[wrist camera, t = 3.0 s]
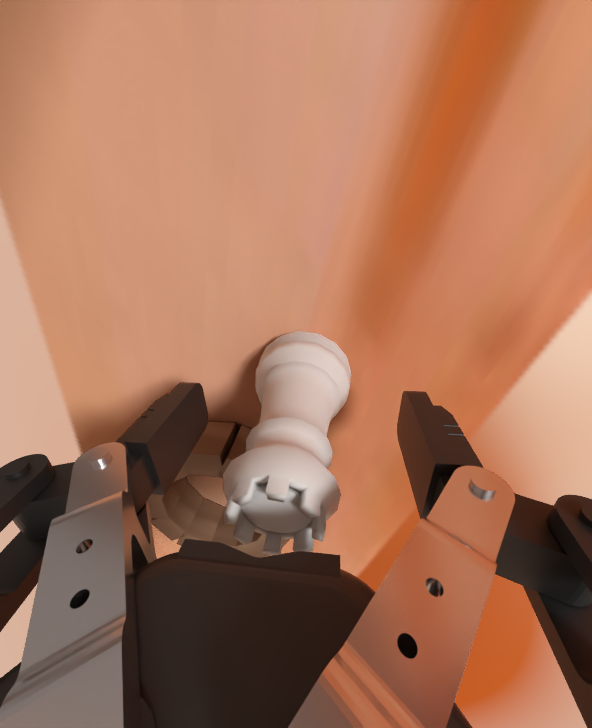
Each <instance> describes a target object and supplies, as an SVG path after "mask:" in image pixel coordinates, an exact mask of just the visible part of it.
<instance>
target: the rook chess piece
mask: <svg viewBox="0 0 592 728" xmlns="http://www.w3.org/2000/svg"><path fill="white" fill-rule="evenodd" d="M350 377H351V371H350V367H349V363H348V359H347V356H346V355H345V354H344V353H343V352H342V350H341V349H340V348H339V347H338V345H337V344H336V343H335V342H333V341H331V340H329V339H327V338H326V337H324V336H322V335H320V334H317V333H310V332H302V331H297V332H293V333H289V334H286V335H282V336H280V337H278V338H277V339H276V340H274V341H273V342H272V343H270V344H269V345H268V346H266V348H265V350H264V352H263V354H262V356H261V358H260V360H259V365H258V367H257V369H256V383H255V388H256V393H257V395H258V397H259V401H260V403H261V406H262V410H261V416H260V422H259V424H258V425H257V426H255V427H254V428H253V429H252V430H251V432H250V434H249V435H248V437H247V439H246V452H245V453H244V454H242V455H240V456H239V457H237V458H235V459H233V460H232V461H231V462H230V464H229V466H228V467H227V469H226V471H225V472H224V474H223V487H224V493H225V495H226V497H227V500H228V502H227V505H226V508H225V510H224V521H225V524H235V525H236V526H235V529H234V532H233V535H232V536H233V537H234V538H235V539H237V540H238V541H239V542H241V543H242V544H243V545H244V546H246V545H248V544H249V543H251V542H252V538H253V534H254V531H255V532H257V533H260V534H262V535H264V536H266V537H265V542H264V547H263V551H262V553H263V554H269V555H279V554H281V549H282V543H283V539H294V543H293V550H294V552H297V551H304V552H310V551H313V541H314V539H316V540H320V541H323V538H324V533H325V527H326V520H327V519H328V518H329V517H330V516H331V515H332V514H333V513H334V512H335V511H336V510H337V508H338V504H339V500H340V496H341V493H340V490H339V487H338V485H337V482H336V479H335V477H334V476H333V475H332V474H331V473H330V472H329V471H328V470H327V468H328V467H329V466H330V464H331V459H332V454H333V452H332V449H331V446H330V443H329V440H328V439H327V431H328V427H329V423H330V421H331V420H332V419H333V417H334V416H336V415H337V413H338V412H339V411H340V410H341V408H342V407H343V406H344V404H345V403H346V401H347V398H348V393H349V389H350V384H351V383H350ZM237 519H238V520H237ZM236 522H237V523H236Z"/></svg>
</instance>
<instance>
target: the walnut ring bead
mask: <svg viewBox="0 0 592 728" xmlns="http://www.w3.org/2000/svg"><path fill="white" fill-rule="evenodd" d="M251 430H252V429H250V428H248V427H246V426H244V425H242V426H241V427H240V429H239V431H238V433H237V430H236V424H235V423H230V422H211V421H208V424H207V427H206V429H205V431H204V432H203V434H202V436H201V437H200V439H199V441H198V442H197V444H196V445H195V447H194V449H193V450H192V452H191V454H190V455H189V457H188V459H187V460H186V462H185V463H184V465H183V467H182V468H181V470H180V472H179V473H178V475H177V477H176V478H175V480H174V481H173V483H172V485H171V486H170V488H169V490H168V491H167V493H166V495H156V494H151V496H150V497H149V499H148V500H147V502H148V505H149V510H150V517H151V523H152V524H153V525H154V526H155V527H156V528H157V529H159V530H160V531H161V532H162V533H163V534H164V535H166V536H167V537H168V538H169V539H170V540H175V539H178V538H179V540H178V542H177V544H179V545H181V546H182V544H183V542H184V540H185V539H193V540H202V541H212V542H221V543H223V544H226V545H228V546H230V547H233V548H235V549H237V550H239V551H242V552H244V553H246V554H249V555H251V556H253V557H258V558H260V557H265V556H269V554H263V553H262V551H263V547H264V542H265V537H266V536H264V535H262V534H260V533H257V532H255V531H254V534H253V538H252V542H251V543H249V544H248V545H246V546H244V545H243V544H242V543H241V542H239V541H238V540H237V539H235V538H234V537H233V536H232V535H233V532H234V529H235V526H236V525H235V524H225V521H224V510H225V508H226V507H223V506H221V505H219V504H216V503H214V502H212V501H210V500H207V499H205V498H203V497H202V496H201V495H200V494H199V493H198V492H197V491H196V490H195V489H194V488H193V487H192V486H191V485H190V484H189V483H188V481H187V478H186V476H189V475H201V476H214V477H222V478H223V474H224V472H225V471H226V469H227V467H228V466H229V464H230V462H231V461H232V460H233V459H235V458H237V457H239V456H240V455H242V454H244V453H245V452H246V439H247V437H248V435H249V434H250V432H251ZM237 520H238V519H237ZM236 523H237V522H236ZM289 540H290V539H283V543H282V547H283V546H284V545H285V544H286V543H287V542H288V541H289Z"/></svg>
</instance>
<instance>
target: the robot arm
mask: <svg viewBox="0 0 592 728" xmlns="http://www.w3.org/2000/svg"><path fill="white" fill-rule="evenodd" d="M207 424H208V411H207V407H206V402H205V397H204V393H203V388H202V386H201V384H200V383H184V382H182V383H179V384H178V385H177V386H176V387H175V388H174V389H173V391H172V392H171V393H170V394H166V395H165V396H163V397H161V398H160V399H158V400H156V401H155V402H154V403H153V404H152V405H151V406H150V407H149V408H148V410H147V411H145V412H144V413H143V414H142V415H141V418H138V420H137V421H136V422H135V423H134V424H133V425H132V426H131V427H130V428H129V429H128V430H127V431H126V432H125V433H124V434H123V435H122V436H121V437H120V438H119V439H118V440H117V441H116V442H109V443H104V444H101V445H98V446H95V447H93V448H91V449H89V450H88V451H86V452H85V453H83V454H82V455H81V456H80V457H79V458H78V459H77V460H76V462H73V463H67V464H62V465H56V466H52V465H51V463H50V462H49V460H48V458H47V457H46V456H45V455H42V454H33V455H28V456H24V457H22V458H19V459H16V460H14V461H12V462H10V463H8V464H6V465H4V466H3V467H1V468H0V532H1V531H2V530H3V529H4V528H5V527H6V526H7V525H8V524H9V523H10V522H11V521H12V520H13V521H14V522H15V524H16V525H17V527H18V528H19V529H20V530H21V531H20V533H19V534H18V535H17V536H16V537H15V538H14V539H13V540H12V541H11V542H10V543H9V544H8V545H7V546H6V548H4V549H3V551H2V552H1V553H0V632H1V630H2V629H3V628H4V626H5V625H6V624H7V622H8V621H9V620H10V619H11V617H12V616H13V614H14V613H15V612H16V611H17V609H18V608H19V607H20V605H21V604H22V603H23V601H24V600H25V599H26V598H27V596H28V595H29V594H30V592H31V591H32V590H33V588H34V587H35V586H36V584H37V583H38V585H37V590H36V594H35V599H34V604H33V609H32V614H31V618H30V623H29V629H28V633H27V638H26V643H25V648H24V652H23V657H22V662H20V663H19V664H18V665H17V666H15V667H14V668H13V669H12V670H10V671H9V672H8V673H6V674H5V675H4V676H3V677H1V678H0V728H472V726H471V725H470V724H469V722H468V721H467V719H466V718H465V716H464V715H463V714H462V712H461V711H460V709H459V708H458V706H457V705H456V704H455V702H454V701H455V698H456V695H457V692H458V689H459V685H460V682H461V678H462V676H463V672H464V669H465V666H466V663H467V660H468V657H469V654H470V651H471V647H472V644H473V641H474V638H475V635H476V631H477V628H478V625H479V622H480V619H481V616H482V613H483V609H484V606H485V603H486V600H487V597H488V594H489V590H490V587H491V584H492V581H493V578H494V575H495V574H497V575H499V576H501V577H504V578H506V579H508V580H511V581H513V582H516V583H518V584H521V585H523V587H524V589H525V591H526V594H527V596H528V598H529V600H530V602H531V604H532V607H533V609H534V611H535V613H536V616H537V618H538V620H539V622H540V624H541V627H542V629H543V631H544V633H545V635H546V637H547V640H548V642H549V644H550V646H551V648H552V651H553V653H554V655H555V657H556V660H557V662H558V664H559V666H560V668H561V670H562V673H563V675H564V677H565V679H566V682H567V684H568V686H569V688H570V690H571V692H572V695H573V697H574V699H575V701H576V704H577V706H578V708H579V710H580V712H581V715H582V717H583V719H584V721H585V723H586V726H587V728H592V499H589V498H586V497H582V496H577V495H564V496H561V497H560V498H558V500H557V501H556V503H555V504H554V506H553V505H549V504H546V503H543V502H539V501H536V500H533V499H530V498H526V497H523V496H520V495H518V494H515V493H514V492H513V490H512V489H511V487H510V486H509V485H508V484H507V482H506V481H504V480H503V479H502V478H501V477H500V476H498V475H497V474H495V473H493V472H491V471H489V470H487V469H484V468H483V466H482V464H481V463H480V461H479V459H478V458H477V456H476V454H475V452H474V451H473V449H472V448H471V446H470V444H469V442H468V441H467V439H466V437H465V436H464V434H463V432H462V431H461V429H460V427H458V424H457V422H456V420H455V419H454V417H453V415H452V414H450V413H449V412H448V411H447V410H446V409H444V408H443V407H442V406H433V404H432V402H431V400H430V399H429V397H428V395H427V393H426V392H417V391H404V392H403V395H402V400H401V406H400V412H399V418H398V424H397V435H398V441H399V445H400V448H401V452H402V455H403V459H404V462H405V466H406V469H407V473H408V476H409V480H410V484H411V487H412V491H413V494H414V498H415V501H416V505H417V508H418V512H419V515H420V519H421V520H420V521H419V522H418V524H417V526H416V527H415V529H414V531H413V532H412V534H411V535H410V537H409V539H408V540H407V542H406V544H405V545H404V547H403V549H402V550H401V552H400V554H399V555H398V557H397V558H396V560H395V562H394V563H393V565H392V567H391V568H390V570H389V572H388V573H387V575H386V577H385V578H384V580H383V581H382V583H381V585H380V586H379V588H378V590H377V591H376V592H374V591H373V590H372V589H371V588H370V587H369V586H368V585H367V584H365V583H364V582H363V581H361V580H360V579H359V578H357V577H355V576H354V575H352V574H350V573H348V572H346V571H344V570H341V569H340V555H332V554H323V553H313V552H304V551H297V552H291V553H285V554H279V555H273V556H267V557H261V558H258V557H253V556H251V555H249V554H246V553H244V552H242V551H239V550H237V549H235V548H233V547H230V546H228V545H226V544H223V543H221V542H212V541H202V540H193V539H185V540H184V542H183V544H182V546H181V548H180V550H179V552H177V553H173V554H169V555H166V556H164V557H161V558H159V559H157V558H156V554H155V548H154V540H153V533H152V525H151V517H150V510H149V505H148V502H147V500H148V499H149V497H150V496H151V494H156V495H166V493H167V491H168V490H169V488H170V486H171V485H172V483H173V481H174V480H175V478H176V477H177V475H178V473H179V472H180V470H181V468H182V467H183V465H184V463H185V462H186V460H187V459H188V457H189V455H190V454H191V452H192V450H193V449H194V447H195V445H196V444H197V442H198V441H199V439H200V437H201V436H202V434H203V432H204V431H205V429H206V427H207Z"/></svg>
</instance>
